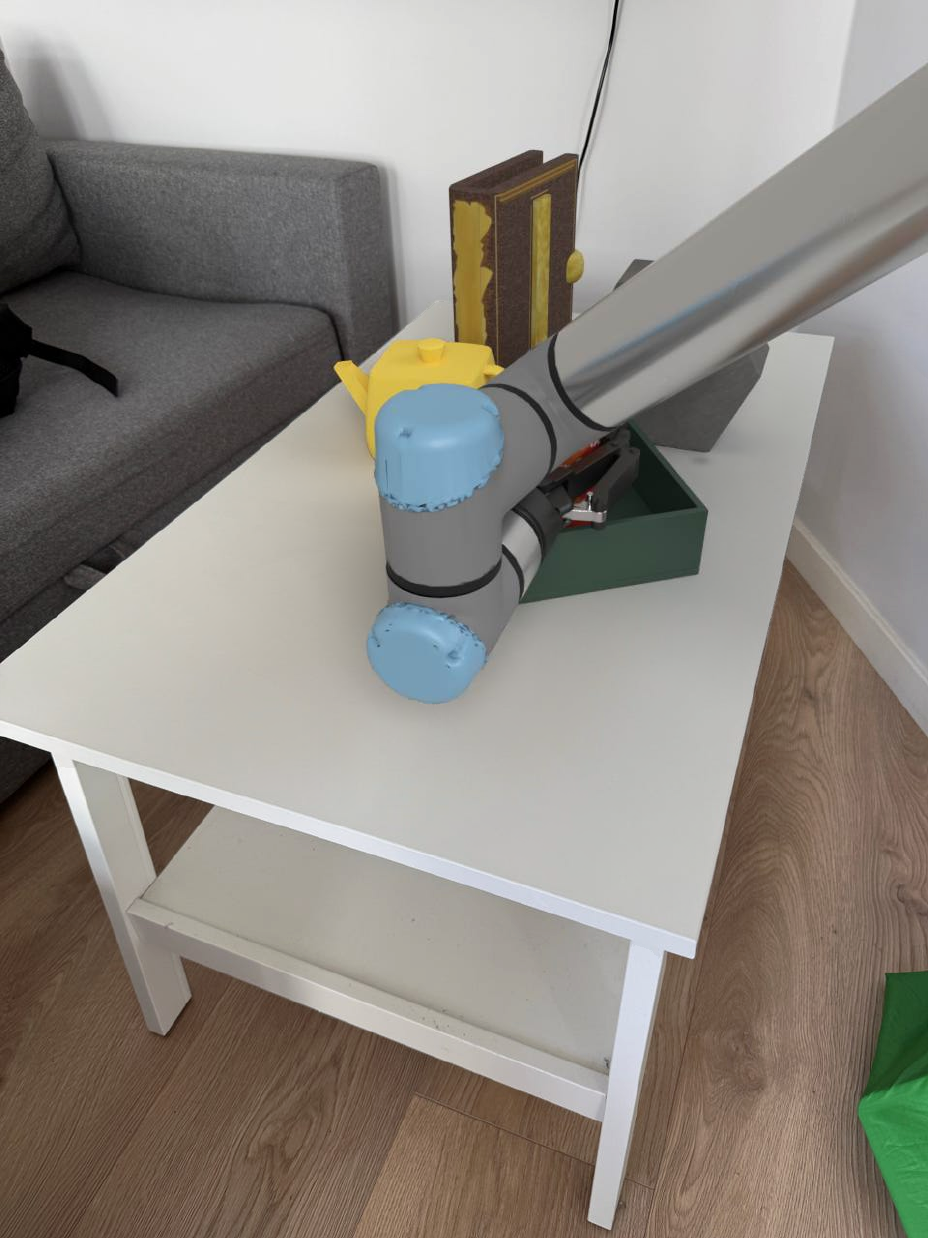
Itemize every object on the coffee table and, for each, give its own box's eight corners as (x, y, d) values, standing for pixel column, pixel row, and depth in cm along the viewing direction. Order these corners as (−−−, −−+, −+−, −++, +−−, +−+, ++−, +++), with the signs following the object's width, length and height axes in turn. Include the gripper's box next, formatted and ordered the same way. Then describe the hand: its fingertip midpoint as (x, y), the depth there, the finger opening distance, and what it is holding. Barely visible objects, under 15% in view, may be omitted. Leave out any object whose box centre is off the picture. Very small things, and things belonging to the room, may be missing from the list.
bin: (698, 574, 83) (708, 510, 78) (490, 609, 80) (489, 544, 75) (622, 470, 97) (627, 412, 93) (444, 497, 94) (441, 437, 90)
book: (505, 426, 106) (504, 196, 91) (443, 411, 110) (432, 187, 94) (587, 358, 121) (598, 149, 105) (530, 346, 124) (533, 143, 109)
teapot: (326, 460, 101) (312, 358, 94) (362, 410, 111) (352, 314, 103) (503, 477, 97) (502, 371, 90) (525, 424, 106) (526, 325, 99)
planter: (791, 390, 100) (707, 217, 93) (783, 421, 95) (693, 239, 87) (654, 448, 110) (569, 296, 103) (640, 478, 105) (549, 320, 97)
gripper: (382, 558, 75) (484, 433, 91) (622, 609, 68) (685, 465, 85) (374, 477, 70) (482, 361, 86) (630, 524, 64) (695, 389, 80)
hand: (582, 413), depth 86 cm, fingers closed on coffee cup, 7 cm apart
